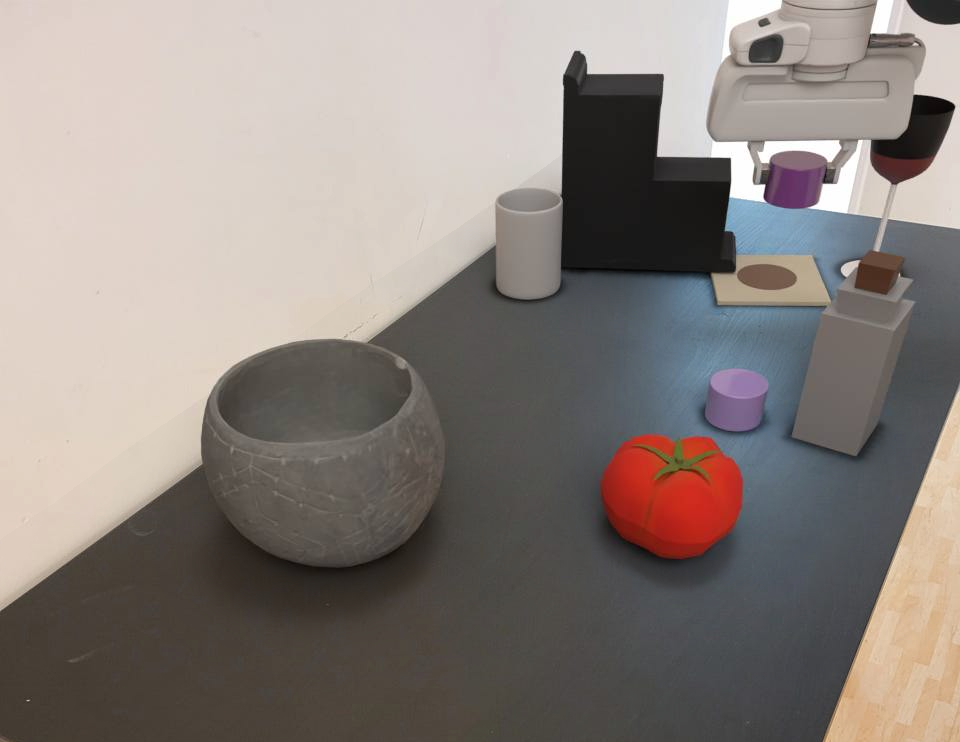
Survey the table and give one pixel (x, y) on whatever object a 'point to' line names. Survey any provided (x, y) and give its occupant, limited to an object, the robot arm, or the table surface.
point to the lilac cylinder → (736, 399)
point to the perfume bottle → (855, 355)
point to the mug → (528, 243)
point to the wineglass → (909, 152)
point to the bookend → (635, 182)
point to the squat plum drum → (795, 179)
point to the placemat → (771, 282)
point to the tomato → (672, 494)
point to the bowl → (323, 450)
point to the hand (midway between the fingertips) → (793, 182)
